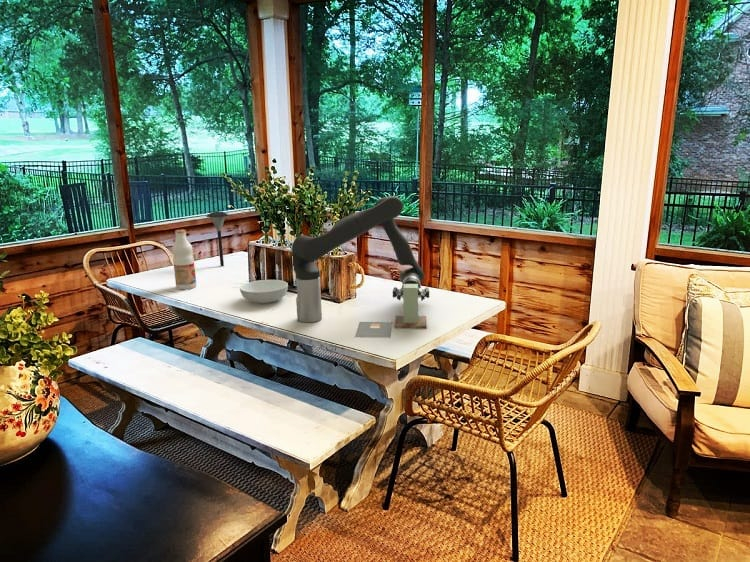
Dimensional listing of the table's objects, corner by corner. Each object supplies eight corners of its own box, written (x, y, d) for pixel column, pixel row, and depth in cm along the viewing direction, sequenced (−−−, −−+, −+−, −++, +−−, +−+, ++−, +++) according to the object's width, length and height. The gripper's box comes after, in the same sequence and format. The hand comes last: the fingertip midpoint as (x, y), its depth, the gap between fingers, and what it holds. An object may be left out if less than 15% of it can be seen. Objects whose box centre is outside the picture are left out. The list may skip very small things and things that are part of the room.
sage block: (403, 323, 216) (403, 287, 212) (403, 318, 221) (403, 283, 218) (417, 323, 216) (418, 287, 212) (417, 318, 221) (417, 283, 217)
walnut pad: (394, 328, 213) (394, 326, 213) (395, 318, 225) (395, 315, 225) (426, 328, 212) (426, 326, 212) (426, 318, 224) (426, 315, 224)
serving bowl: (267, 291, 266) (266, 277, 264) (298, 298, 253) (297, 284, 251) (231, 301, 250) (229, 286, 249) (262, 310, 237) (260, 294, 236)
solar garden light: (216, 269, 307) (211, 214, 299) (207, 266, 316) (201, 212, 308) (237, 266, 315) (232, 212, 307) (227, 262, 324) (222, 210, 316)
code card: (354, 337, 205) (354, 337, 205) (359, 321, 221) (359, 321, 221) (390, 338, 204) (390, 337, 204) (392, 322, 220) (392, 321, 220)
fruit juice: (173, 287, 275) (167, 230, 268) (192, 283, 281) (187, 227, 273) (179, 291, 268) (173, 232, 261) (199, 287, 273) (193, 230, 266)
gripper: (393, 277, 230) (391, 288, 215) (429, 277, 229) (429, 288, 213) (394, 295, 232) (392, 307, 217) (428, 295, 231) (429, 307, 215)
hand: (410, 298), depth 215 cm, fingers open, 8 cm apart
